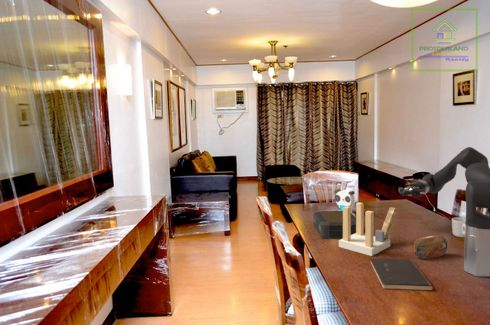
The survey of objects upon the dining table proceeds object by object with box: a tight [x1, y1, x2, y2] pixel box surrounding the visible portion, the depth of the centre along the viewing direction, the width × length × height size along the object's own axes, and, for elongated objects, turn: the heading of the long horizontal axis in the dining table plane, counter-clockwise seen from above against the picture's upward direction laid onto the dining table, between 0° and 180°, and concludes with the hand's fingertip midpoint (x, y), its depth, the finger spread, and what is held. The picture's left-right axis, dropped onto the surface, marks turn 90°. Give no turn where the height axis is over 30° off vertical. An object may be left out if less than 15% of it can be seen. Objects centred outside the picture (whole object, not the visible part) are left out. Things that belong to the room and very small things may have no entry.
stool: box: [338, 201, 391, 257], centre depth 158 cm, size 16×18×18 cm
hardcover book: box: [369, 257, 434, 291], centre depth 129 cm, size 16×23×2 cm
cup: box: [451, 216, 466, 238], centre depth 167 cm, size 11×8×8 cm
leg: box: [380, 206, 397, 240], centre depth 161 cm, size 2×2×15 cm
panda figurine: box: [333, 188, 356, 217], centre depth 211 cm, size 12×11×15 cm
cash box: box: [312, 210, 356, 240], centre depth 182 cm, size 25×20×8 cm
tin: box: [412, 235, 448, 260], centre depth 145 cm, size 15×3×8 cm, turn 105°
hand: (402, 194), depth 169 cm, fingers closed
